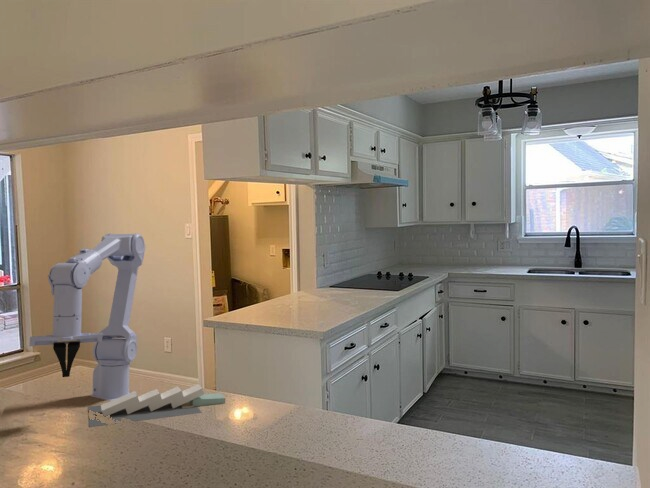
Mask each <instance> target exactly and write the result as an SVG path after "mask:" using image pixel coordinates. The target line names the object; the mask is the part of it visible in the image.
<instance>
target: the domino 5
mask: <svg viewBox="0 0 650 488" xmlns="http://www.w3.org/2000/svg"><path fill="white" fill-rule="evenodd" d="M226 399H227V398H226V397H225V396H224V395H223V394H222V393H204V395H202V396H200V397H198V398H195V399H193V400H191V401H190V403H191V404H192V406H197V407H205V406H211V405H212V406H213V405H220V404H226Z"/></svg>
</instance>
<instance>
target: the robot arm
mask: <svg viewBox="0 0 650 488" xmlns="http://www.w3.org/2000/svg"><path fill="white" fill-rule="evenodd" d="M145 251H146V243H145V239H144V237H143V236H142V234H140V233H106V234H104V235H103V236H102V237H101V240H100V242H99V243H98V244H97V245H95V246H94V248H92V249H91V248H90V249H89V248H81V249H80V250H79V253H77V254H75V255H74V256H71V257H69V258H68V260H67V261H65V262H58V263H56V264H54V265H53V266H52V267H51V268H50V271H49V273H48V275H47V280H48V283H49V286H50V293H51V295H52V296H53V313H52V316H53V317H52V319H53V320H52V322H53V323H52V334H49V335H46V334H45V335H36V336H29V345H28V346H29V347H35V346H49V345H50V346H51V345H52V350H53V351H54V353H55V356H56V358H57V359H58V362H59V365H60V369H61V375H62V376H61V377H62V378H69V377H70V376H71V375H70V374H71V369H72V366H73V362H74V360H75V358H76V356H77V353H78V351H79V350H80V348H81V344H86V343H94V345H93V349H92V355H93V358H94V360H95V361H96V362H97V364H96V366H95V367H94V369H93V371H92V393H91V394H89V396H90V397H93V398H97V399H101V400H106V401H108V402H110V401H112V400H115V399H117V398H119V397H122V396H124V395H126V394H129V393H131V392H130V364H132V362H133V361H134V359H135V358H136V357H137V353H138V345H137V343H138V335H137V334H136V332H134V331H133V329H132V328H130V327H129V326H130V322H131V321H130V319H131V315H132V308H133V304H134V296H135V290H136V286H137V285H136V284H137V280H138V279H137V277H138V272H139V267H141V266H142V265H143V263H144V257H145ZM105 259H107V260H108V261H109V262H110V264H111V265H112V266H114V267H116V269H117V274H116V275H117V276H116V281H115V287H114V292H113V297H112V304H111V309H110V313H109V320H108V325H107V326H106V327H104V328H103V329H101V330H100V331H98V332H92V333H91V332H88V333H87V332H84V333H83V332H82V317H83V315H82V314H83V312H82V311H83V288H85V287H86V286H87V284H88V281H89V278H91V276H92V275H93V274H94V273H95V272H97V270H99V269H100V268H101V267H102V264H103V261H104V260H105ZM66 357H67V358H66ZM66 359H67V360H66ZM66 361H67V362H66Z"/></svg>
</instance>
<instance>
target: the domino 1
mask: <svg viewBox="0 0 650 488" xmlns="http://www.w3.org/2000/svg"><path fill="white" fill-rule="evenodd" d="M138 396H139V395H138V393H137V392H136V390H134V391H132V392H130V393H129V394H126V395H124V396H122V397H119V398H117V399H115V400H111V401H108V402H105V403H103V404H100V405H101V410H102V413H103V416H104V417H106V416H108V415H111V414H113V413H115V412H118V411H120V410H122V409H125V408H127V407H129V406H131V405H134V404H136V403H138V402H139V399H138Z"/></svg>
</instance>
